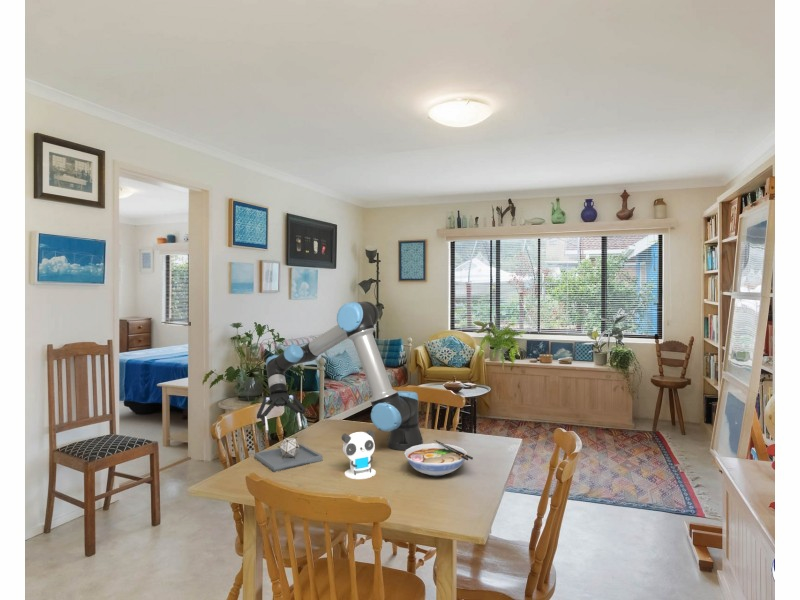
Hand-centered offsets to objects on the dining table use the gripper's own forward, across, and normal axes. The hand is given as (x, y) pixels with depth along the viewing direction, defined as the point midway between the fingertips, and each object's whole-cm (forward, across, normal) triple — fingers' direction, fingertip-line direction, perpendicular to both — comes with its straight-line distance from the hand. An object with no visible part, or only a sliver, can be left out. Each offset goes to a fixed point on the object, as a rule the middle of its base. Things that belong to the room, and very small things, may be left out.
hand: (283, 429), depth 208 cm
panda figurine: (+32, -21, +18) cm, 42 cm away
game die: (+13, -1, 0) cm, 13 cm away
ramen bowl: (+40, -47, +26) cm, 67 cm away
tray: (+13, 0, 0) cm, 13 cm away
